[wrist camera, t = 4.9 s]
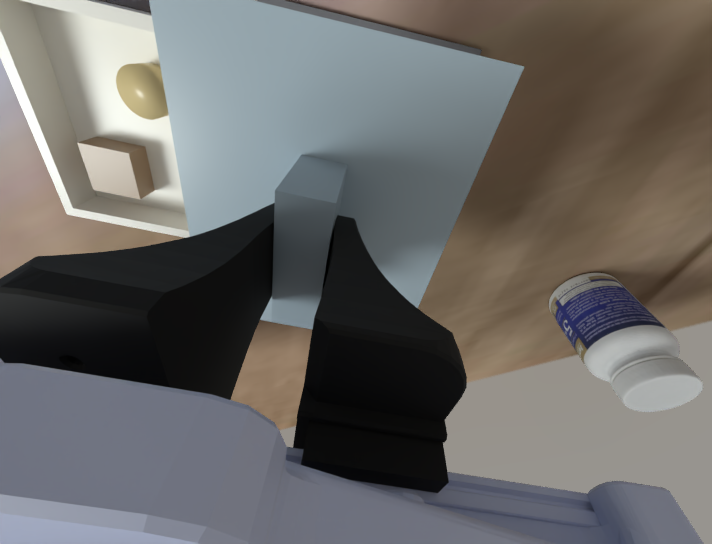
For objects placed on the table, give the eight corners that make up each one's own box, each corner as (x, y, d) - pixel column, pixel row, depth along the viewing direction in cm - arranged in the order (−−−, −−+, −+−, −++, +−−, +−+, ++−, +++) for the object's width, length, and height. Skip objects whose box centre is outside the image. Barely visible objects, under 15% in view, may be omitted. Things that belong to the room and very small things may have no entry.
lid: (400, 336, 16) (404, 402, 13) (207, 301, 16) (166, 362, 13) (516, 65, 9) (586, 76, 6) (158, -23, 8) (28, -61, 5)
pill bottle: (533, 299, 25) (593, 395, 18) (595, 259, 23) (694, 354, 16) (569, 327, 27) (637, 426, 20) (631, 293, 24) (735, 393, 17)
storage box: (230, 226, 23) (215, 243, 21) (96, 199, 22) (67, 214, 20) (218, 28, 16) (193, 26, 14) (20, -19, 15) (-37, -30, 13)
